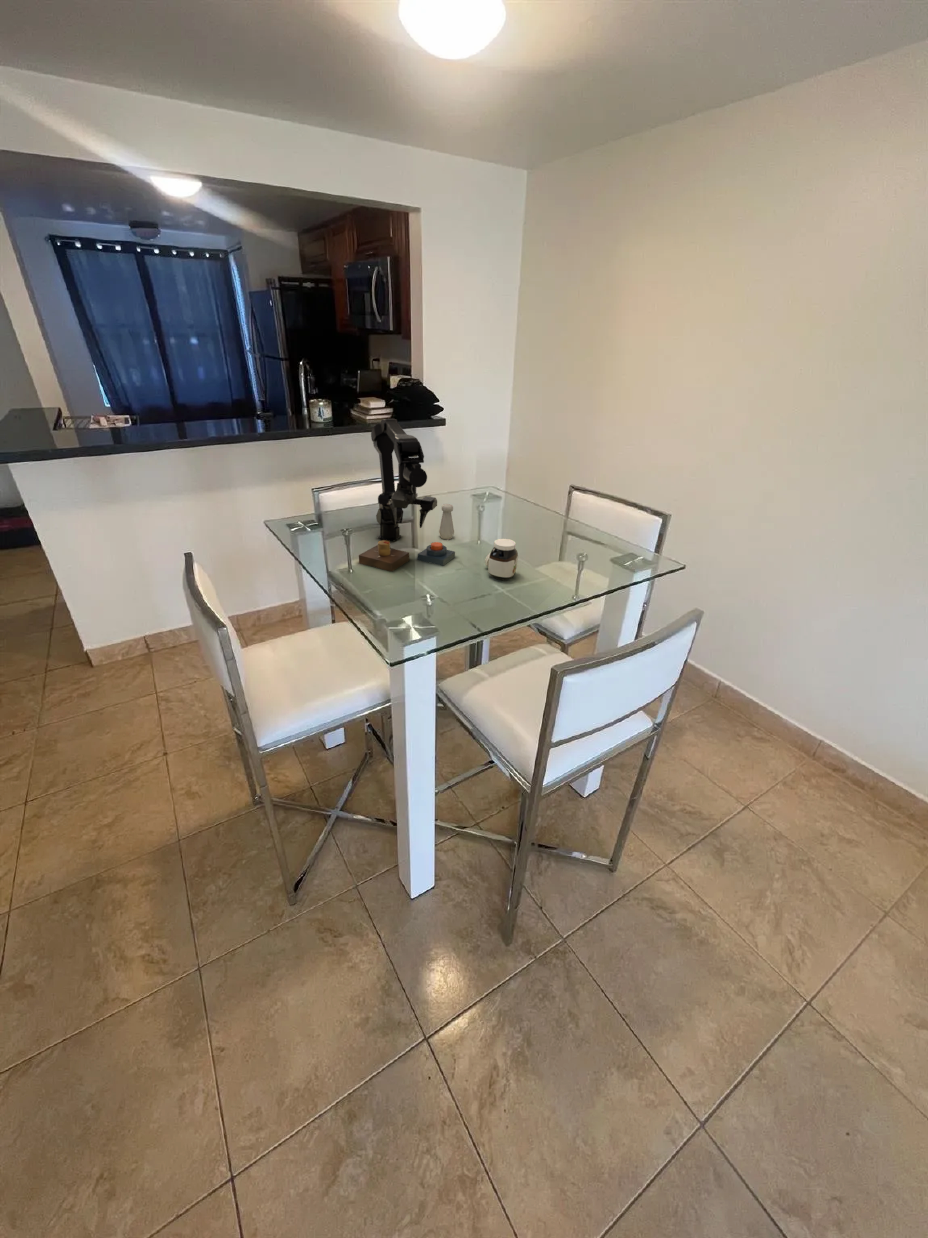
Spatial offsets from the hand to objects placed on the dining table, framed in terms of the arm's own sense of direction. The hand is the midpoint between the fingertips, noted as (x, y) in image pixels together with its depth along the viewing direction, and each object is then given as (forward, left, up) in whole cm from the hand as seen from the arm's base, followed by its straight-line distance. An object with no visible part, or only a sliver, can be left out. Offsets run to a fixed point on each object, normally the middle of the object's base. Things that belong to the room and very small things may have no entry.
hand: (407, 525), depth 170 cm
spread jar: (+32, +6, -12) cm, 34 cm away
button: (+8, +6, -8) cm, 13 cm away
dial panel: (-5, -6, -12) cm, 15 cm away
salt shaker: (+2, +26, -12) cm, 29 cm away
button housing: (+8, +6, -12) cm, 16 cm away
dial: (-5, -6, -9) cm, 12 cm away
